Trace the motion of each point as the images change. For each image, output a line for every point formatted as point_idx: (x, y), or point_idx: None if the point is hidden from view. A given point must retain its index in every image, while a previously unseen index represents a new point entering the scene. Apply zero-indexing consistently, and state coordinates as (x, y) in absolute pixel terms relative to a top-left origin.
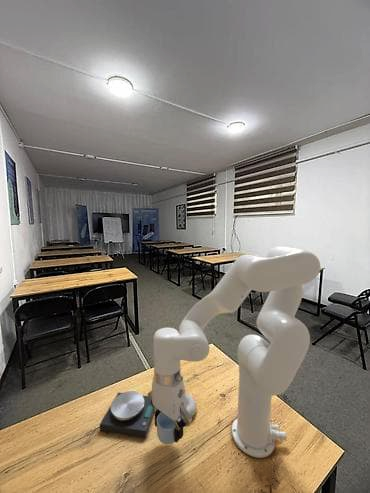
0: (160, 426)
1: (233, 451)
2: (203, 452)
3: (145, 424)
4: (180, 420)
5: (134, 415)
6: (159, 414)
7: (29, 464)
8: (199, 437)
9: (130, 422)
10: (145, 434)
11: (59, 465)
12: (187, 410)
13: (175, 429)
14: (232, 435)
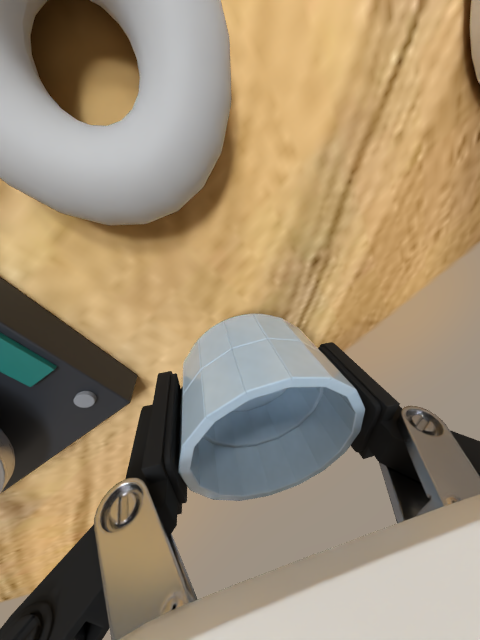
0: (269, 492)
1: (460, 143)
2: (350, 245)
3: (93, 398)
4: (405, 441)
5: (4, 462)
6: (191, 481)
7: (11, 579)
8: (313, 199)
9: (27, 441)
10: (132, 389)
11: (59, 540)
12: (201, 114)
13: (369, 455)
14: (474, 43)
